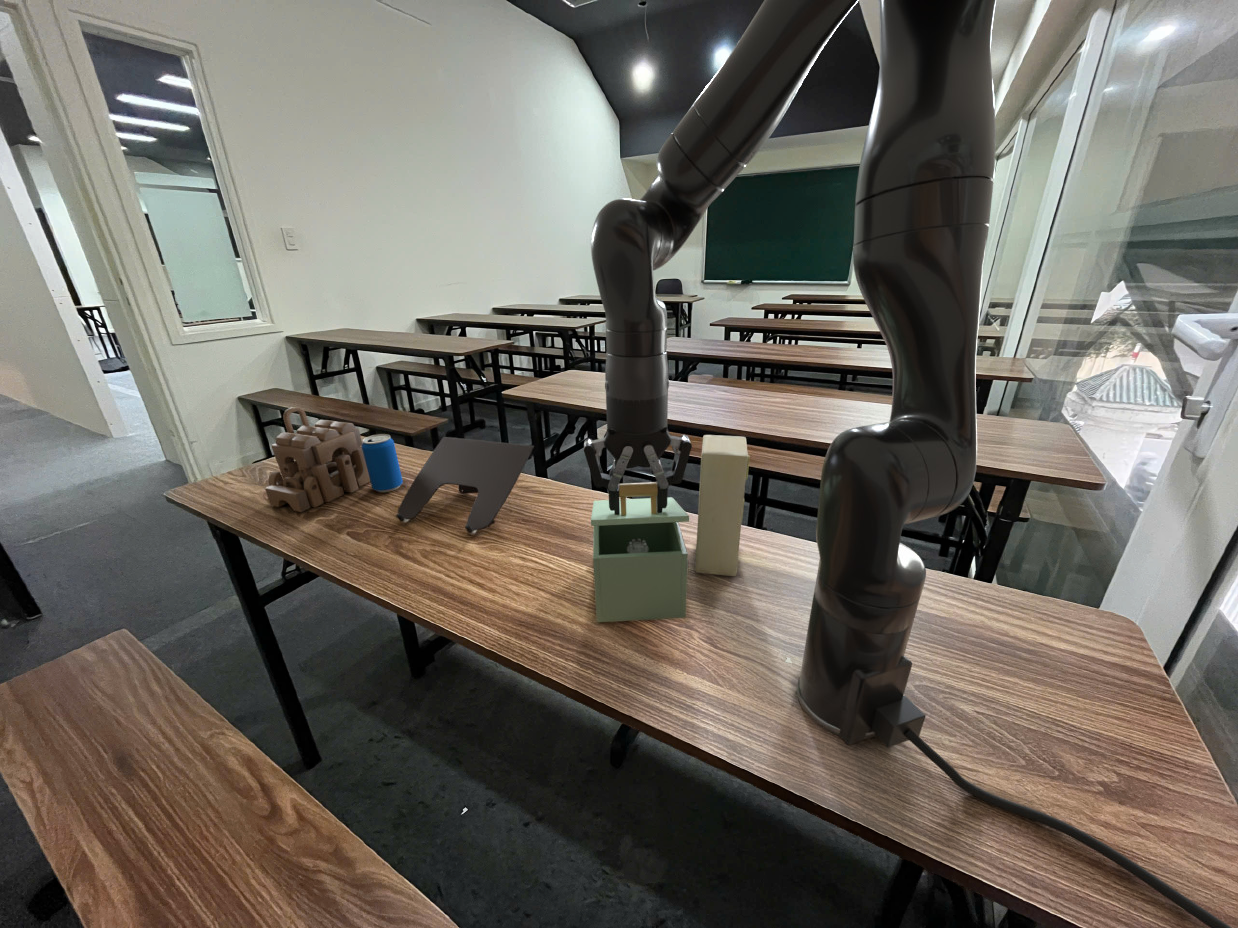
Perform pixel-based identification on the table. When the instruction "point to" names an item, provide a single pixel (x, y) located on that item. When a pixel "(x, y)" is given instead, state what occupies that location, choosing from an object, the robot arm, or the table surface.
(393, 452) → the beverage can
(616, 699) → the table surface
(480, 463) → the laptop tray
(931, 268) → the robot arm
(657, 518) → the lid
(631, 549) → the rook chess piece
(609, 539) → the chest
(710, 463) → the toy refrigerator
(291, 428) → the wooden puzzle
